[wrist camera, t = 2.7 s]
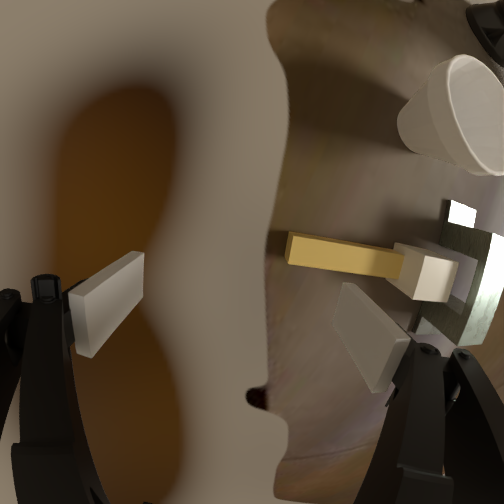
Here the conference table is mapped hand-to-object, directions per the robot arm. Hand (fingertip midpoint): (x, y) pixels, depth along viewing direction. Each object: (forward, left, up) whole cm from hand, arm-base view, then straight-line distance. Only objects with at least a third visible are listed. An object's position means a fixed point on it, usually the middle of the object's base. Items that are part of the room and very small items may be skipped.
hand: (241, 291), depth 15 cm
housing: (0, +30, -16) cm, 34 cm away
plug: (0, +15, -16) cm, 22 cm away
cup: (-18, +20, -16) cm, 32 cm away
